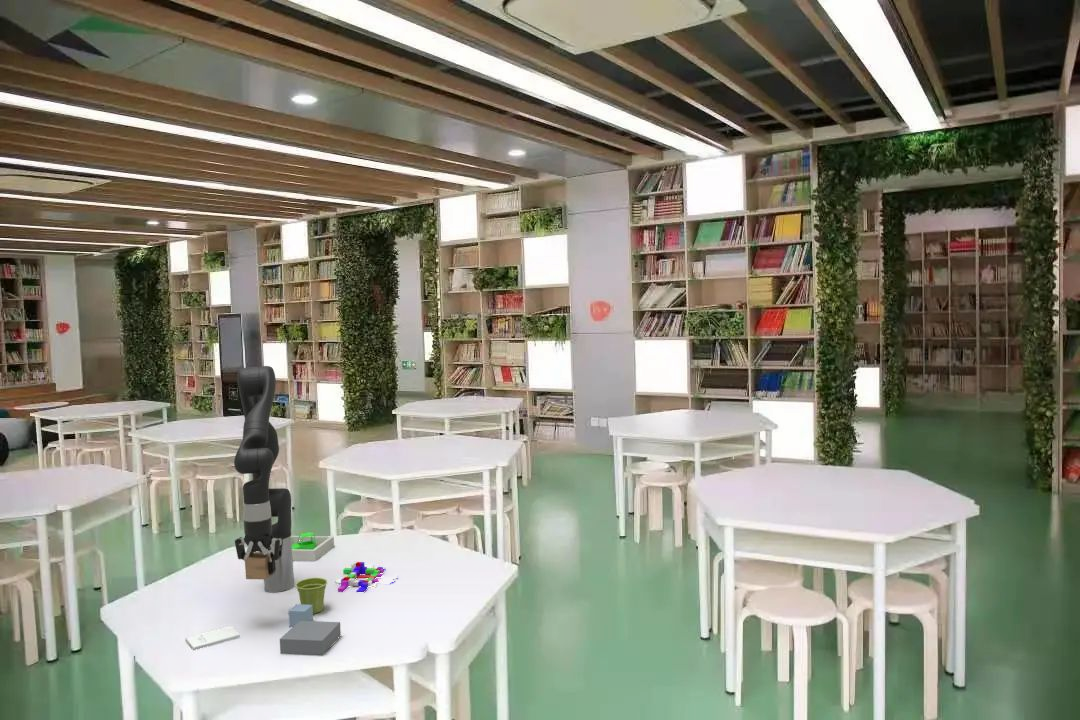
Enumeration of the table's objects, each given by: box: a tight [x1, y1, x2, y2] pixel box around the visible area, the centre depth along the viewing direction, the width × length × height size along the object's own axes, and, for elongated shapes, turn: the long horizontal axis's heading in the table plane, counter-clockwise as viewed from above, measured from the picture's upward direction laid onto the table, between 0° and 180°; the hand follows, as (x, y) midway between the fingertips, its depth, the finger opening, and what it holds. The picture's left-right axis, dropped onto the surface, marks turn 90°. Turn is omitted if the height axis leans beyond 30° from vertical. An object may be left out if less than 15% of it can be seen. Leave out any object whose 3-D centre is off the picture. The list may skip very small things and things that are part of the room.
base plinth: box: [279, 620, 342, 656], centre depth 211 cm, size 12×12×4 cm
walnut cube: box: [244, 551, 275, 581], centre depth 224 cm, size 6×6×6 cm
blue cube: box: [288, 603, 314, 628], centre depth 225 cm, size 5×5×5 cm
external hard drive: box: [185, 625, 241, 651], centre depth 217 cm, size 2×8×12 cm
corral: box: [291, 535, 335, 562], centre depth 292 cm, size 17×17×4 cm
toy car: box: [292, 531, 317, 550], centre depth 293 cm, size 11×7×7 cm, turn 122°
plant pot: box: [295, 577, 328, 615], centre depth 235 cm, size 9×9×9 cm
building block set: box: [334, 561, 385, 593], centre depth 262 cm, size 25×20×4 cm
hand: (260, 573), depth 224 cm, fingers closed on walnut cube, 6 cm apart
